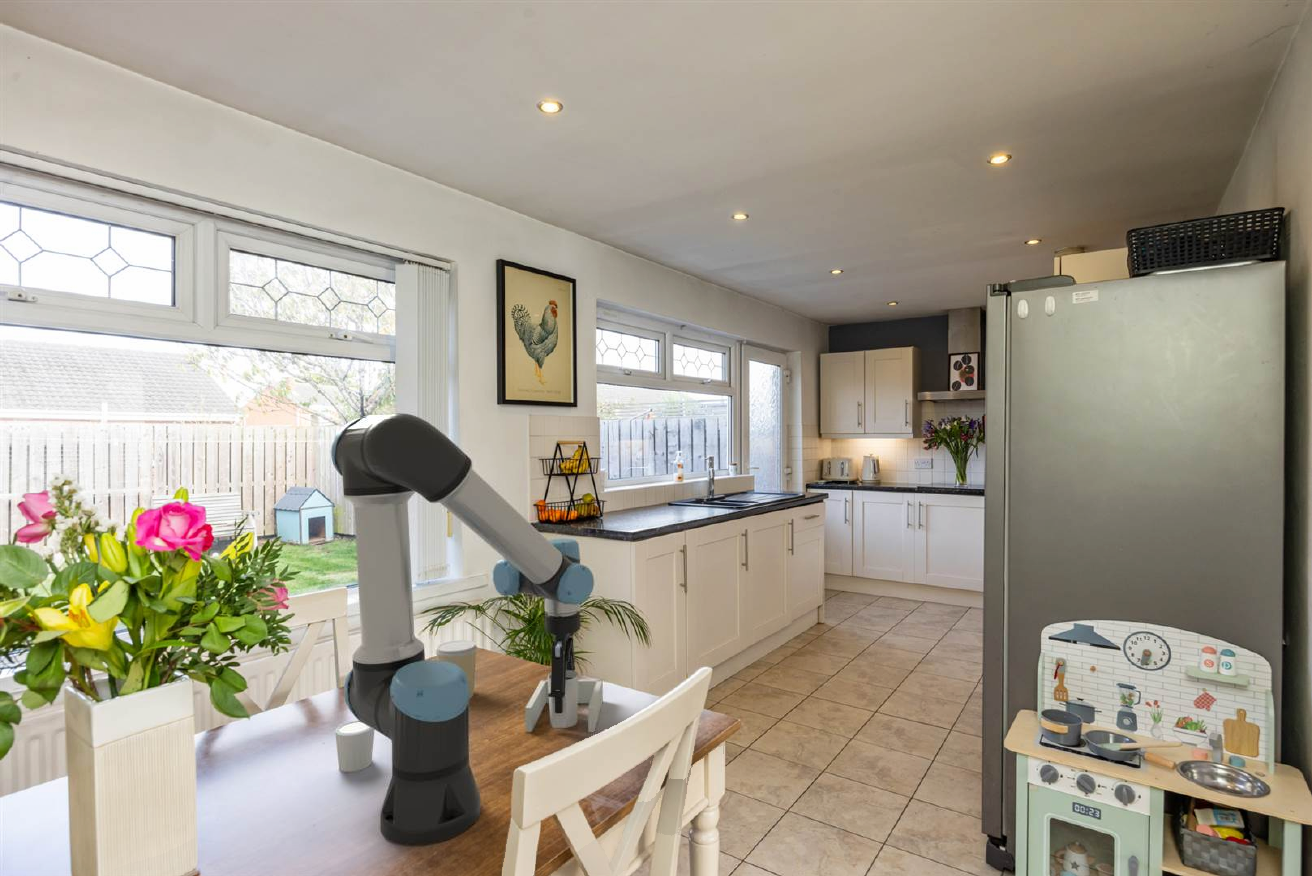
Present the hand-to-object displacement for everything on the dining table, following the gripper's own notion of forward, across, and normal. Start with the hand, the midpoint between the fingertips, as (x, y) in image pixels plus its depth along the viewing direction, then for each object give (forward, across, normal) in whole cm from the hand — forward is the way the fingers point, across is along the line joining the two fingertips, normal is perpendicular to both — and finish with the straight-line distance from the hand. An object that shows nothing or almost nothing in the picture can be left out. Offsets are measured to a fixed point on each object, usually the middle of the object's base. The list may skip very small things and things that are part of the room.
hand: (563, 717), depth 143 cm
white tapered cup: (+1, -19, +36) cm, 41 cm away
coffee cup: (+1, +15, +28) cm, 32 cm away
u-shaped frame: (+1, +3, 0) cm, 3 cm away
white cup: (+1, 0, 0) cm, 1 cm away
